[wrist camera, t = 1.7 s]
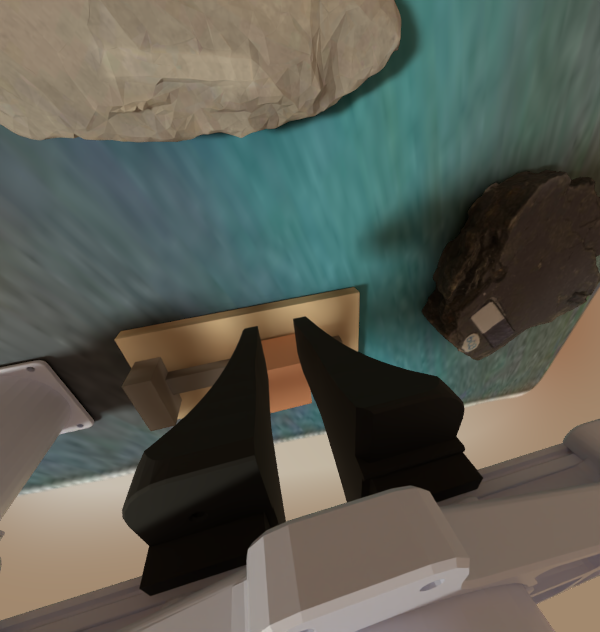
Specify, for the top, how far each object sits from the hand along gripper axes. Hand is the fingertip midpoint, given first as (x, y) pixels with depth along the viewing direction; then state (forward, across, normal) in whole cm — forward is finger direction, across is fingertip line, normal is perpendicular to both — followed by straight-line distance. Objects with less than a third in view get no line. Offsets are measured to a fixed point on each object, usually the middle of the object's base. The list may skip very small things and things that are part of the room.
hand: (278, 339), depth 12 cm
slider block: (+8, 0, +8) cm, 12 cm away
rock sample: (+10, -23, +4) cm, 26 cm away
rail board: (+10, +2, +8) cm, 13 cm away
